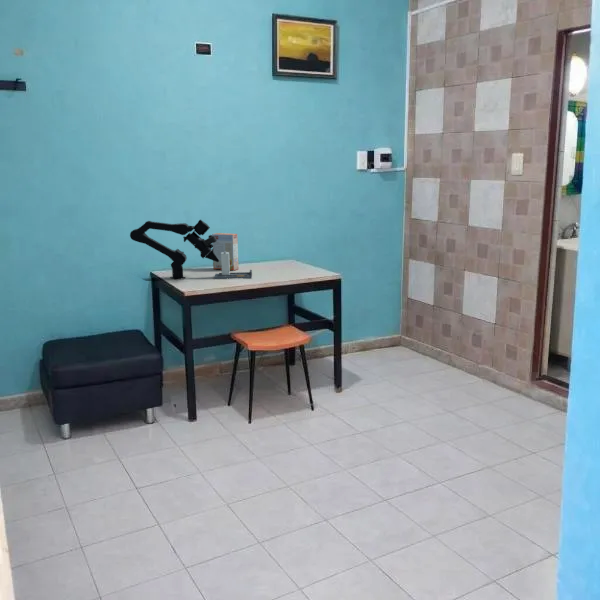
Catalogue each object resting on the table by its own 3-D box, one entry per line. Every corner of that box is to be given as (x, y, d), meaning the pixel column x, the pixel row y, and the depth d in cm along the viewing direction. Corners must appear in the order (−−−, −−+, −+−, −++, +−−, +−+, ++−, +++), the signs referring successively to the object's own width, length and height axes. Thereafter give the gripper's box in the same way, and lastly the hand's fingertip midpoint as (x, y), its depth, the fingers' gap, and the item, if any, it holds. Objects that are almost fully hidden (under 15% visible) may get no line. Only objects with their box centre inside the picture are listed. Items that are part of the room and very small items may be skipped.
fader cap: (221, 275, 350) (221, 252, 348) (222, 274, 355) (221, 251, 352) (229, 275, 350) (228, 252, 348) (229, 274, 355) (229, 251, 352)
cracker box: (239, 269, 378) (237, 233, 373) (233, 271, 372) (232, 234, 368) (218, 267, 383) (217, 232, 379) (213, 269, 378) (211, 233, 374)
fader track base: (214, 279, 348) (213, 273, 347) (215, 275, 357) (215, 270, 357) (251, 278, 349) (251, 272, 348) (252, 275, 358) (251, 269, 358)
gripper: (205, 232, 338) (227, 253, 341) (208, 228, 356) (229, 248, 359) (191, 248, 339) (213, 268, 342) (195, 243, 357) (216, 262, 360)
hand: (218, 261), depth 351 cm, fingers closed
